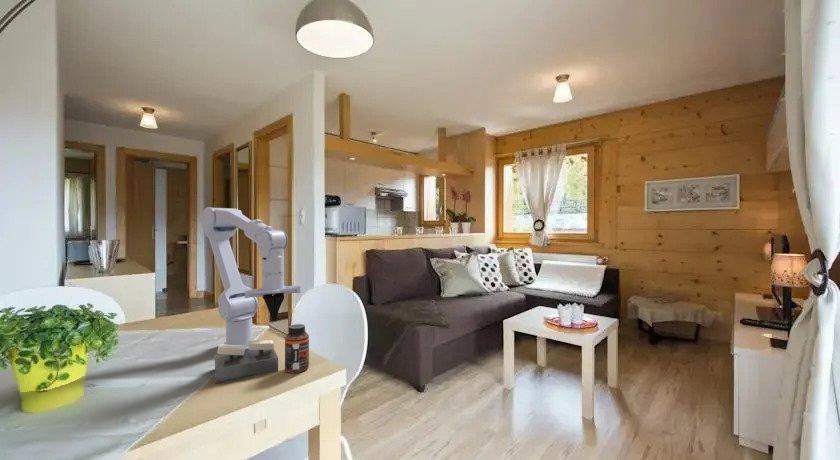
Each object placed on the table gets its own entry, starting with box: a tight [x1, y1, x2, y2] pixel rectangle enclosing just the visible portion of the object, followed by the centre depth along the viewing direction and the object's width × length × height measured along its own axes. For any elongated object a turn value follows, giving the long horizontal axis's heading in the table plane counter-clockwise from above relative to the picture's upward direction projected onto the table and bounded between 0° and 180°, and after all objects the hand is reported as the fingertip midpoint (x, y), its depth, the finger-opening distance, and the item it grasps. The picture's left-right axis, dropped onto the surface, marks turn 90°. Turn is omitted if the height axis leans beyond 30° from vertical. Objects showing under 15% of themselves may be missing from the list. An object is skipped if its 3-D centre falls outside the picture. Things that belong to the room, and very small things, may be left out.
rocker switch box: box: [214, 347, 279, 385], centre depth 92 cm, size 10×14×4 cm
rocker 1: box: [217, 343, 246, 355], centre depth 92 cm, size 3×6×2 cm, turn 120°
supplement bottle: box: [284, 323, 310, 374], centre depth 92 cm, size 6×6×11 cm
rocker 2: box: [247, 339, 275, 350], centre depth 95 cm, size 3×6×2 cm, turn 120°
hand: (273, 320), depth 100 cm, fingers closed
